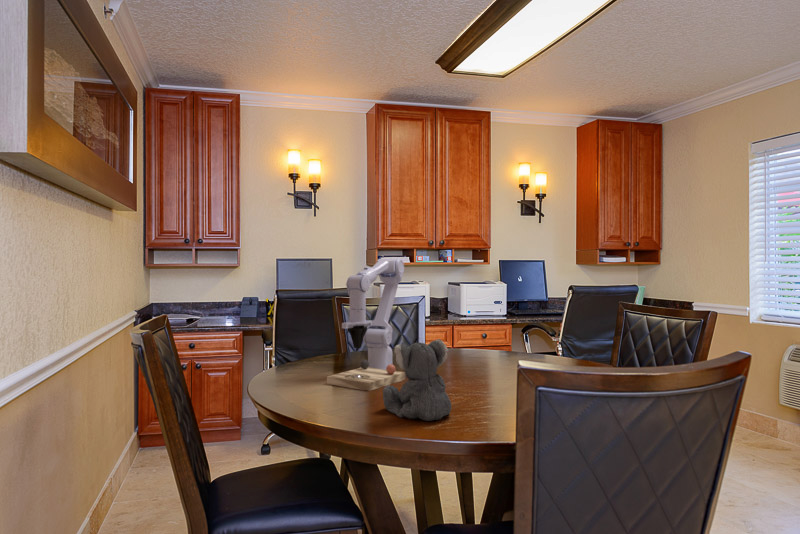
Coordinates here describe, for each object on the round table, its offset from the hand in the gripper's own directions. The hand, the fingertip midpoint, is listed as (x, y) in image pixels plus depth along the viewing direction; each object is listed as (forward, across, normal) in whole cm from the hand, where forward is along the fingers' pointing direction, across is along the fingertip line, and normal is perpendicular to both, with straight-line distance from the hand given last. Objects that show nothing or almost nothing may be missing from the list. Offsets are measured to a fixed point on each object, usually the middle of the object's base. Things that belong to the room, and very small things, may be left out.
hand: (357, 347), depth 183 cm
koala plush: (+12, +25, +43) cm, 51 cm away
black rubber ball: (+6, -4, 0) cm, 7 cm away
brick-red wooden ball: (+6, -2, +13) cm, 15 cm away
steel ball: (+9, +8, +7) cm, 14 cm away
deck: (+10, +3, +7) cm, 13 cm away
